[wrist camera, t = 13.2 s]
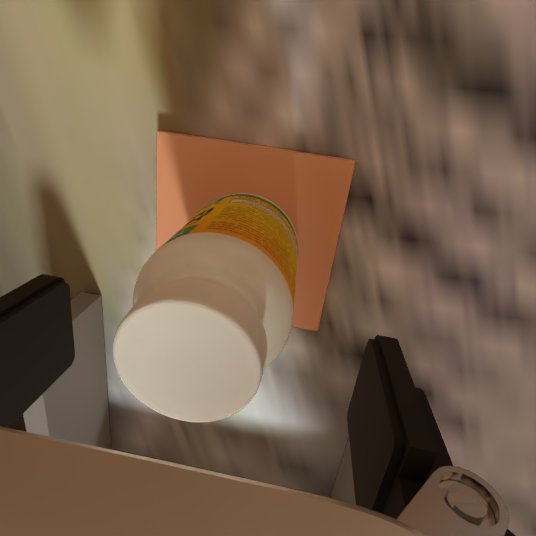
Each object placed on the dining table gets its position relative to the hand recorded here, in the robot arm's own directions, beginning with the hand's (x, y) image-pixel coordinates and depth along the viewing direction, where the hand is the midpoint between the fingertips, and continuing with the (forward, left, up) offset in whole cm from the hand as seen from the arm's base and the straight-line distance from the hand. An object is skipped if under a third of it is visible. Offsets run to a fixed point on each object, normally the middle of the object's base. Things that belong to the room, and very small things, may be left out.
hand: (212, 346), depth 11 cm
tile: (0, -1, -9) cm, 9 cm away
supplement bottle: (0, 0, -8) cm, 8 cm away
